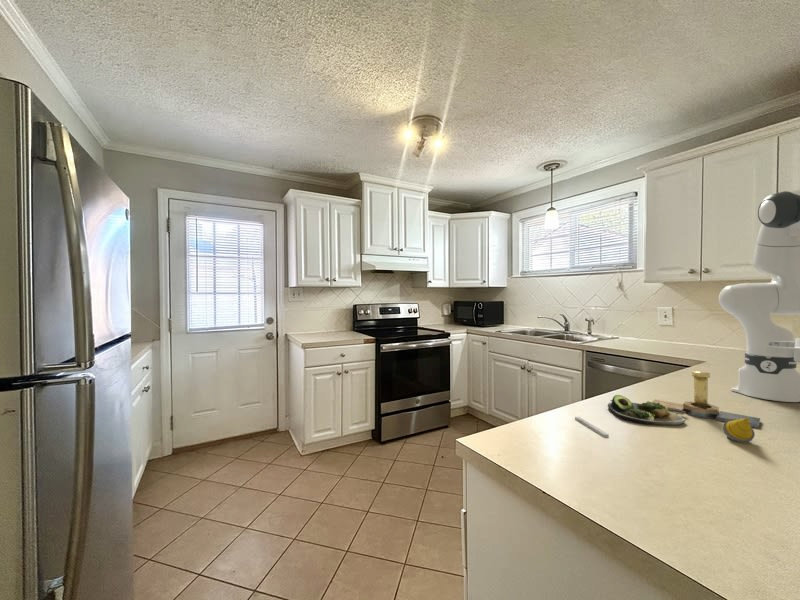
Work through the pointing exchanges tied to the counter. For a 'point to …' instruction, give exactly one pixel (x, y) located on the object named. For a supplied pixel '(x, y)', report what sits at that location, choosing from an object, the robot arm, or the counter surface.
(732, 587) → the counter surface
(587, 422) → the white rod
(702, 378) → the hinge pin
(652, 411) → the salad plate
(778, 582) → the counter surface
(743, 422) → the lemon wedge on dish
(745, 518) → the counter surface
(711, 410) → the hinge
